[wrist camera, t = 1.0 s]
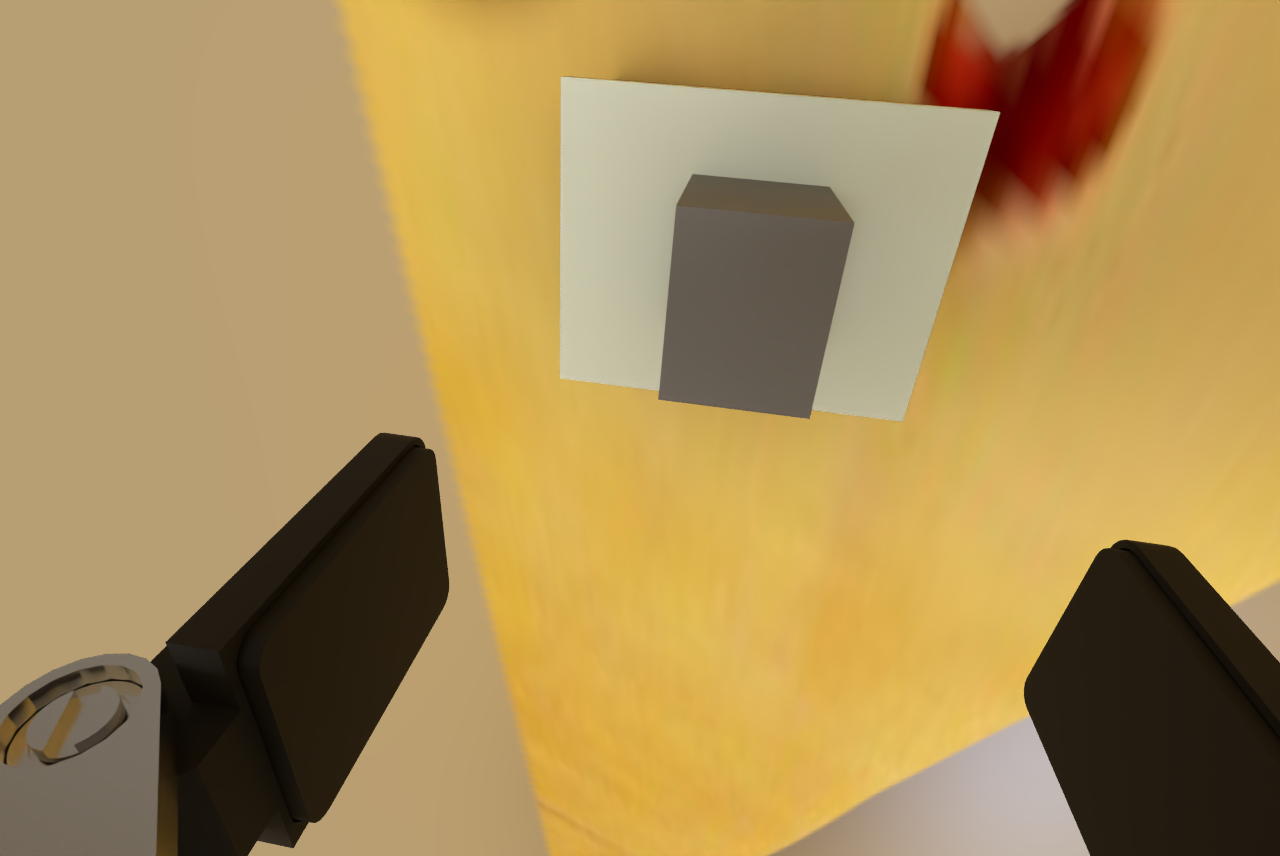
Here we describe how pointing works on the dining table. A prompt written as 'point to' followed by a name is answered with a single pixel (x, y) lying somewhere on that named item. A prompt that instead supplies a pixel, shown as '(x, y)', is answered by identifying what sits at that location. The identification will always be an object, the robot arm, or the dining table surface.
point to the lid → (758, 242)
